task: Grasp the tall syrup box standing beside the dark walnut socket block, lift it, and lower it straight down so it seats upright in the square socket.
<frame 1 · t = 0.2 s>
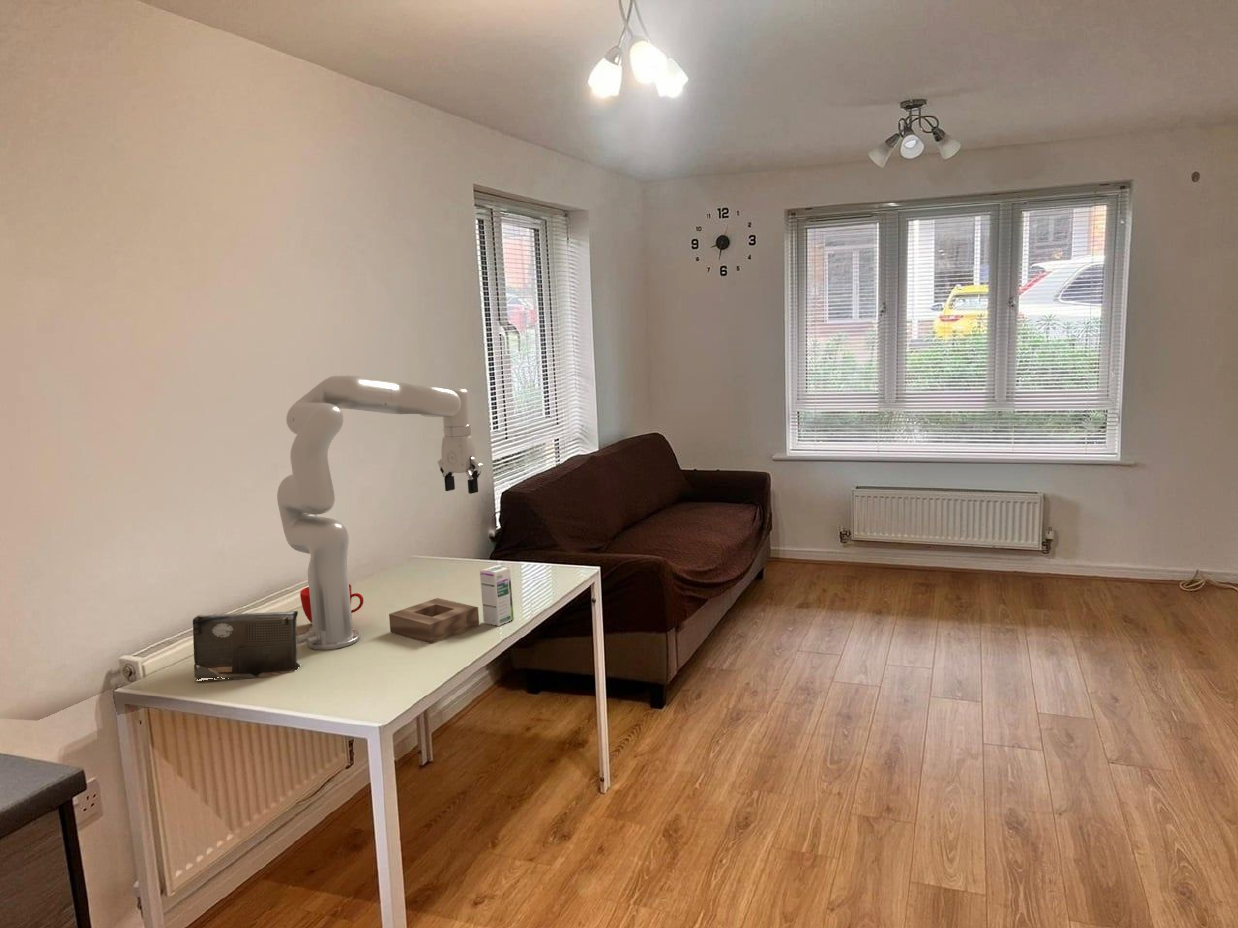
hand: (461, 491, 250), 31 cm above the table, tool pointing down, fingers open, 9 cm apart
radio: (250, 673, 201), on the table
ceramic cup: (336, 626, 233), on the table
socket block: (435, 629, 226), on the table
syrup box: (498, 622, 230), on the table
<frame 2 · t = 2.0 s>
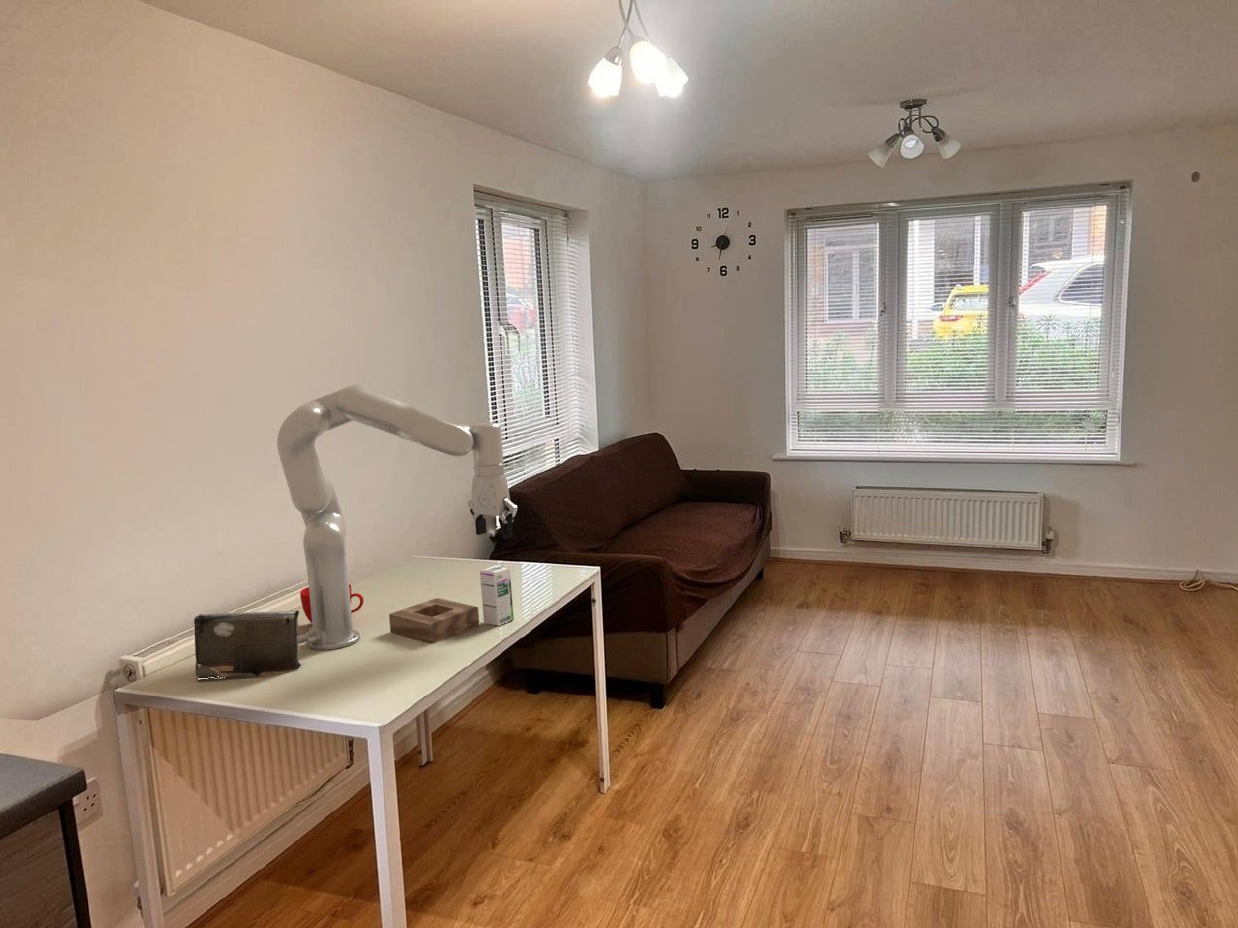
hand: (494, 535, 227), 23 cm above the table, tool pointing down, fingers open, 9 cm apart
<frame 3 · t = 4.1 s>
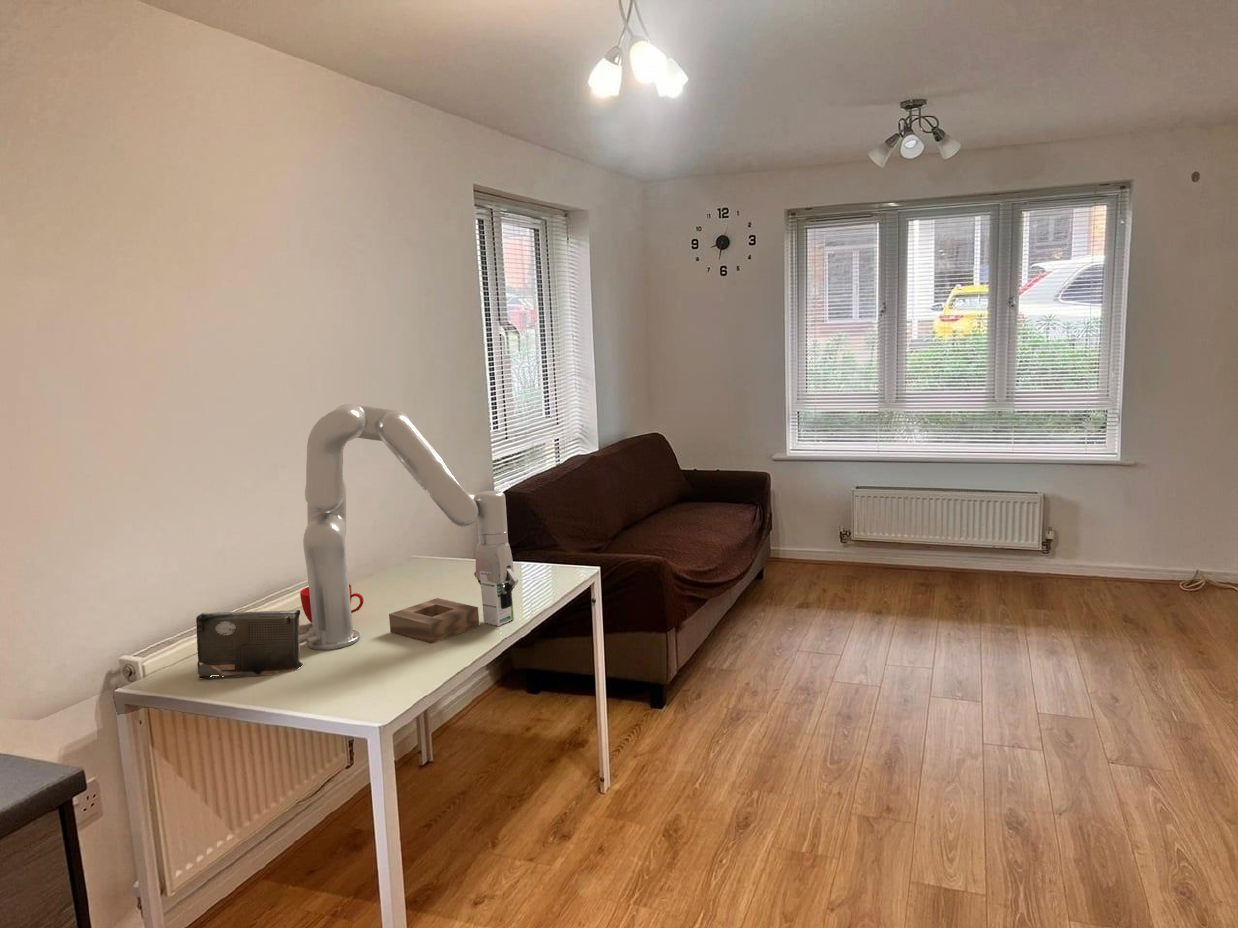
hand: (497, 604, 229), 5 cm above the table, tool pointing down, fingers closed on syrup box, 5 cm apart
syrup box: (498, 622, 230), on the table, touching gripper
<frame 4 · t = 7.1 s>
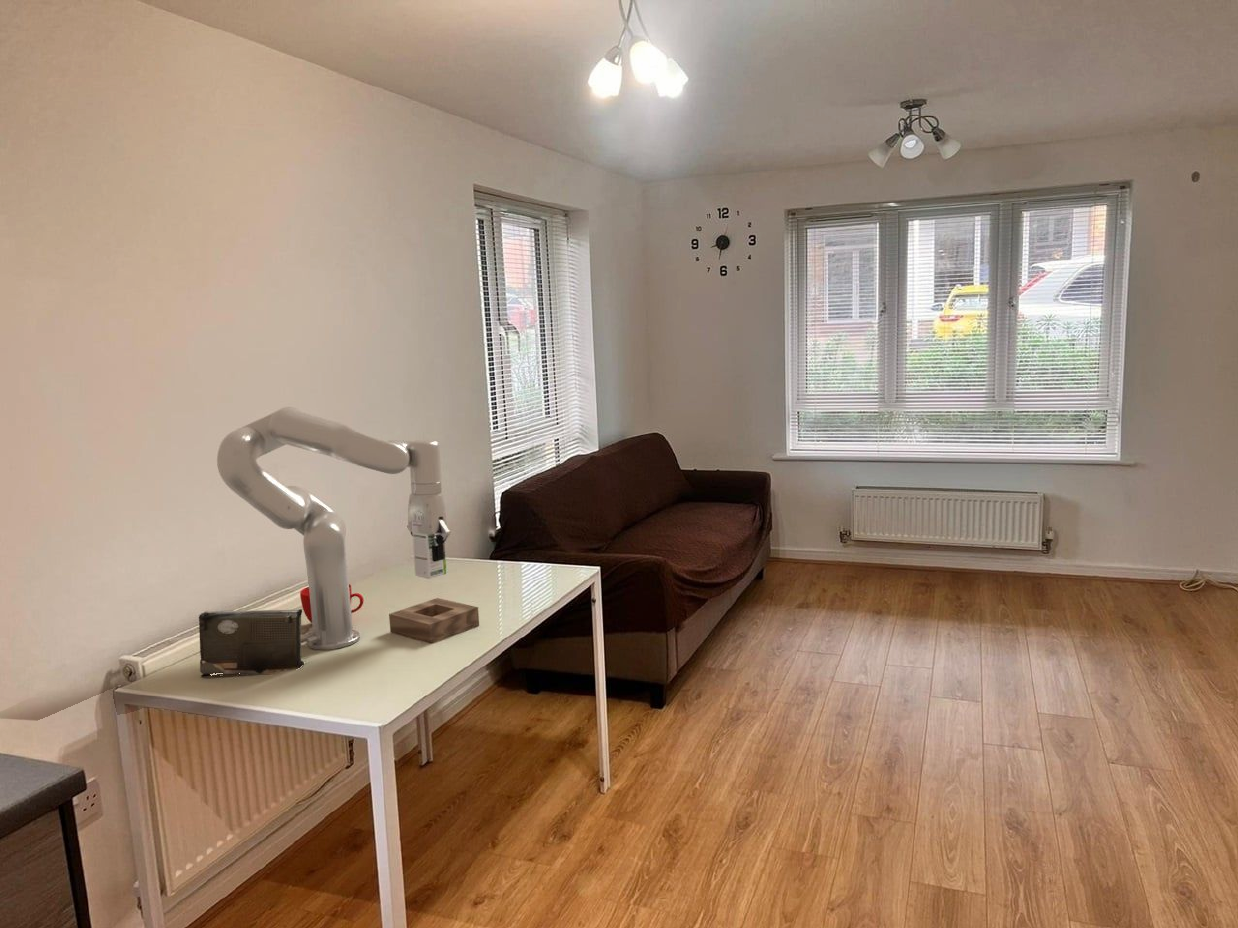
hand: (429, 557, 223), 19 cm above the table, tool pointing down, fingers closed on syrup box, 5 cm apart
syrup box: (430, 575, 224), point 14 cm above the table, touching gripper
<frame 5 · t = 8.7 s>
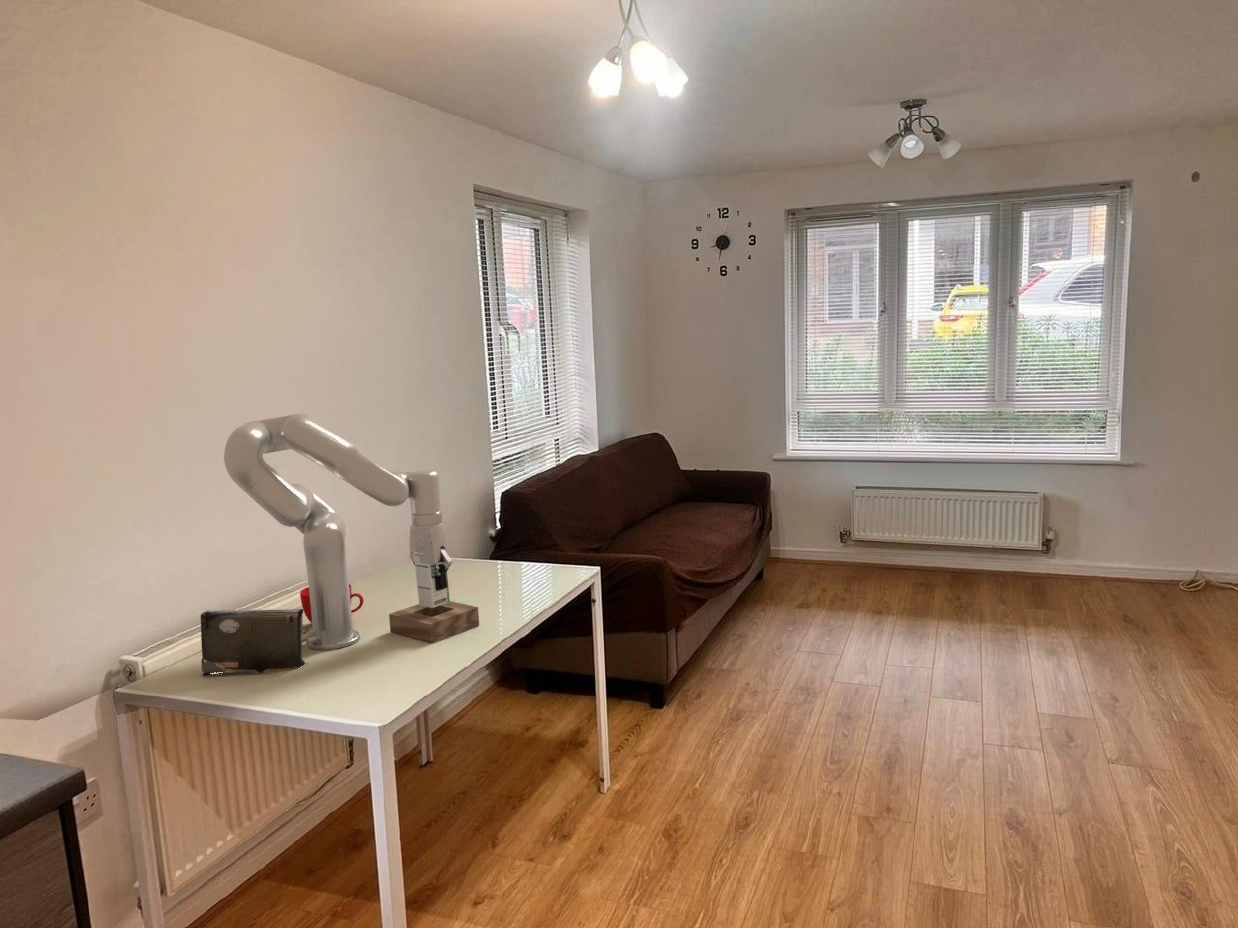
hand: (432, 586, 224), 11 cm above the table, tool pointing down, fingers closed on syrup box, 5 cm apart
syrup box: (434, 604, 225), point 7 cm above the table, touching gripper
when the fingers open (7 cm above the table, at t = 10.0 s): syrup box drops 1 cm, resting on socket block.
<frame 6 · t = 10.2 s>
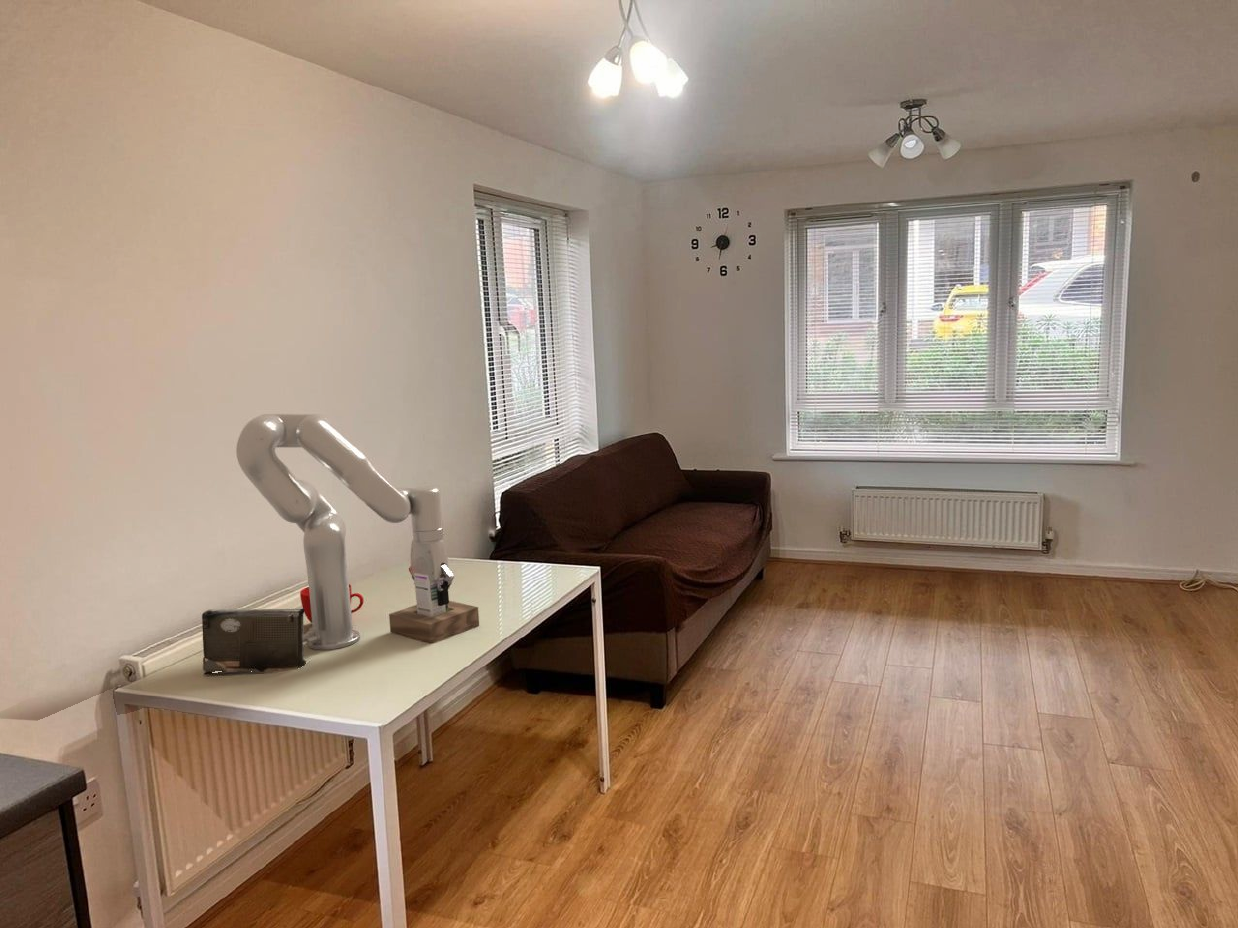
hand: (433, 601, 225), 7 cm above the table, tool pointing down, fingers open, 7 cm apart
syrup box: (433, 626, 226), point 1 cm above the table, touching socket block
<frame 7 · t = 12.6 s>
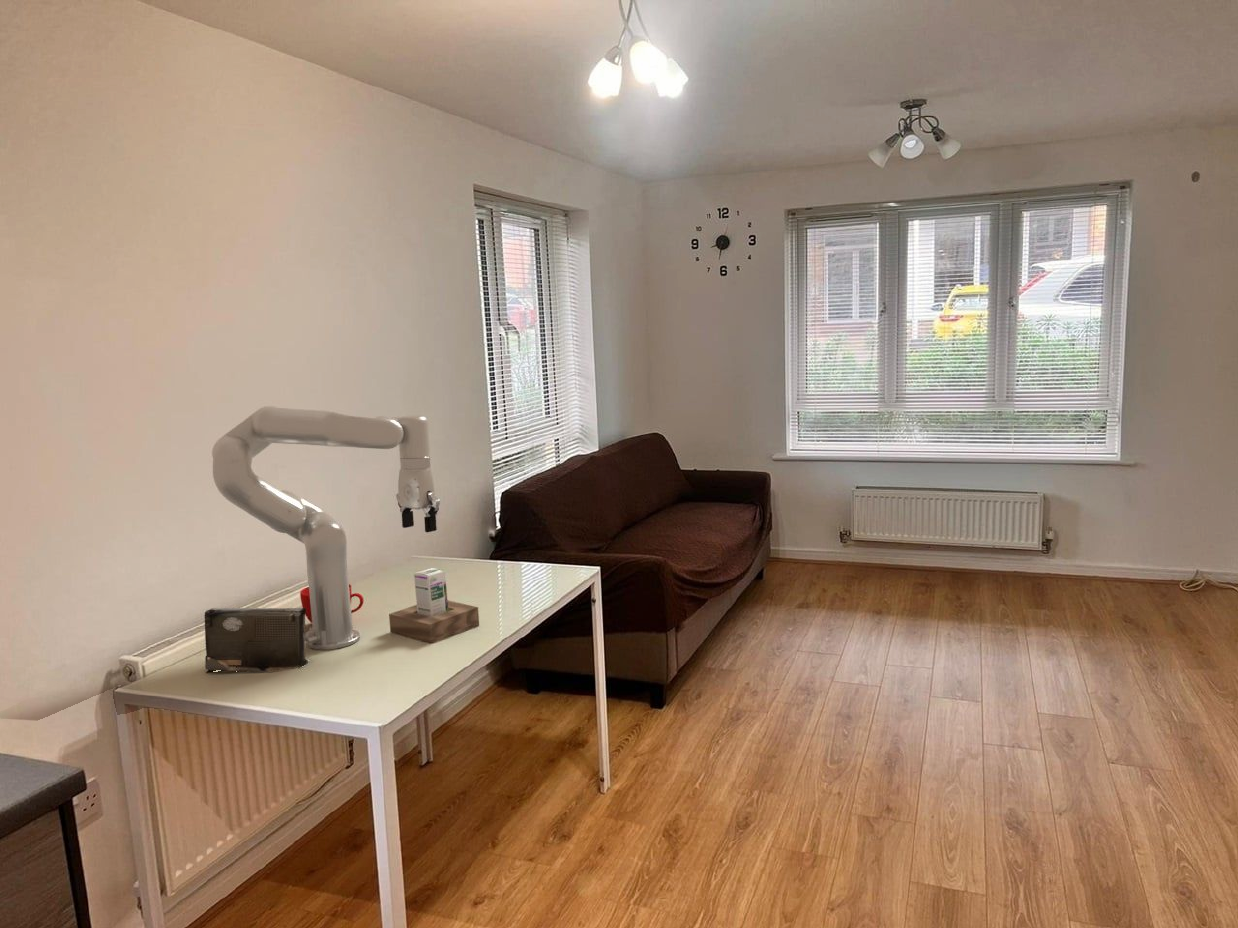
hand: (419, 529, 226), 26 cm above the table, tool pointing down, fingers open, 9 cm apart
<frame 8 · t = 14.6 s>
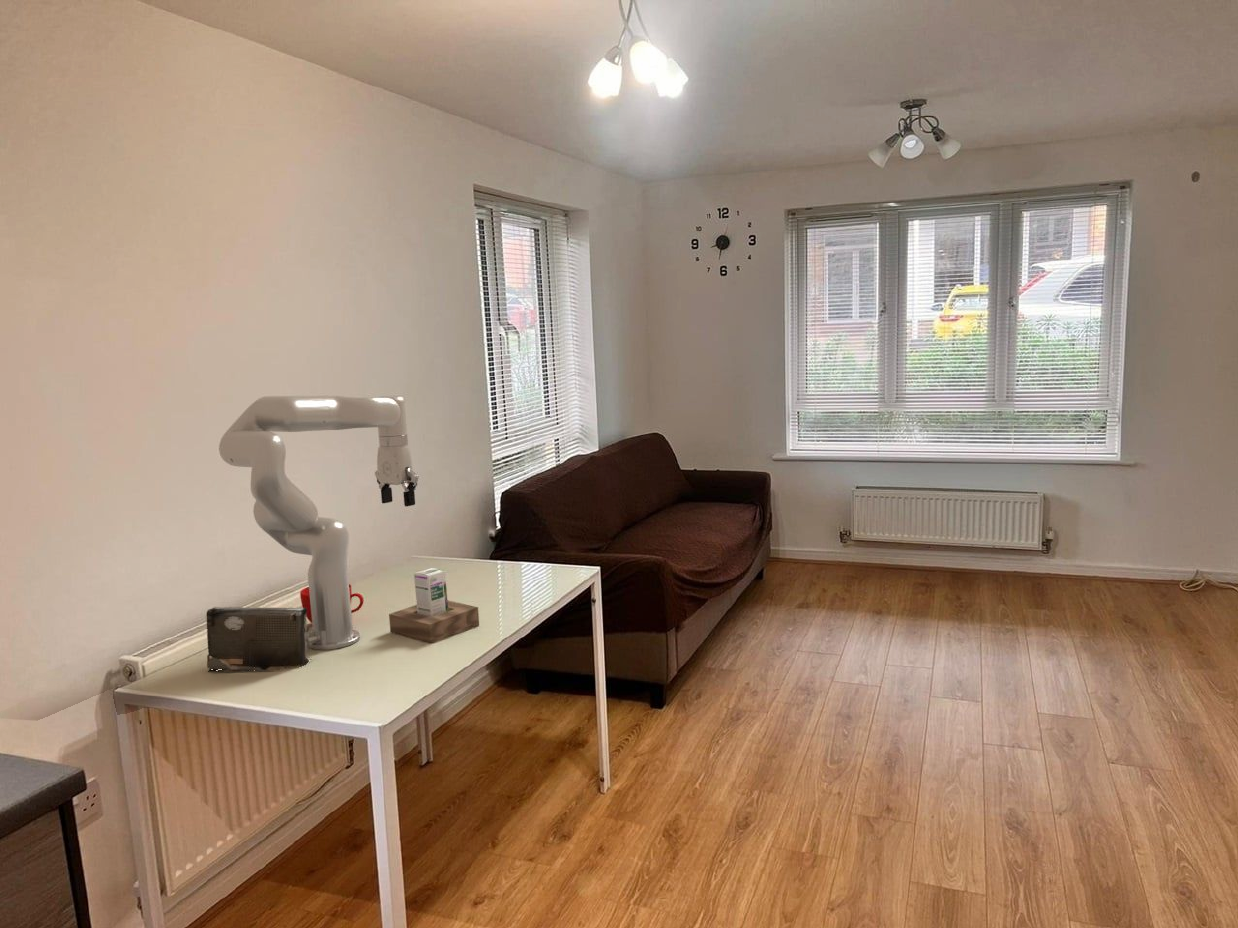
hand: (398, 504, 238), 30 cm above the table, tool pointing down, fingers open, 9 cm apart
at the end: syrup box 0.3 cm off-centre on the socket block, point 0.8 cm above the socket block's base; syrup box tilted 0°; the gripper is holding nothing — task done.
